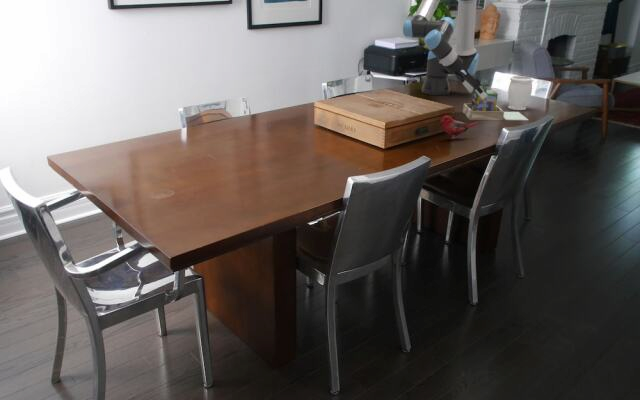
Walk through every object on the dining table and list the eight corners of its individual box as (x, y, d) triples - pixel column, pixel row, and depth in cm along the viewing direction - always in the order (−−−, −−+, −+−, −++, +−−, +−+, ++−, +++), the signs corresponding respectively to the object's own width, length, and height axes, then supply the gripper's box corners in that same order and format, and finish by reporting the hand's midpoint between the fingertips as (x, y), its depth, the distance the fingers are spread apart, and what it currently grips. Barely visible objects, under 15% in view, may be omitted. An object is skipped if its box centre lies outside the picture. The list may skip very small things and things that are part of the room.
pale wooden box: (462, 111, 251) (463, 103, 249) (493, 112, 251) (494, 103, 249) (469, 119, 238) (471, 111, 236) (502, 120, 237) (504, 111, 236)
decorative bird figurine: (436, 139, 210) (438, 114, 206) (475, 136, 215) (478, 112, 211) (439, 141, 208) (442, 116, 204) (479, 138, 212) (482, 113, 208)
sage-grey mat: (497, 112, 250) (497, 111, 250) (518, 112, 250) (518, 111, 250) (506, 120, 238) (506, 119, 237) (528, 120, 237) (528, 119, 237)
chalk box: (494, 118, 240) (499, 86, 234) (474, 118, 240) (478, 86, 234) (489, 113, 248) (493, 82, 242) (469, 113, 248) (473, 82, 242)
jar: (504, 109, 255) (509, 78, 249) (506, 105, 264) (511, 75, 258) (528, 112, 252) (533, 80, 246) (528, 107, 260) (534, 76, 254)
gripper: (434, 62, 243) (461, 94, 251) (455, 71, 220) (484, 106, 228) (447, 50, 241) (473, 82, 249) (468, 58, 219) (497, 94, 227)
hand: (478, 94), depth 239 cm, fingers open, 13 cm apart
